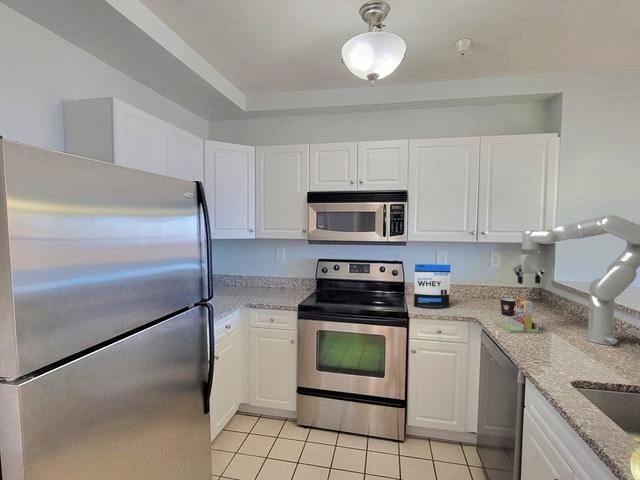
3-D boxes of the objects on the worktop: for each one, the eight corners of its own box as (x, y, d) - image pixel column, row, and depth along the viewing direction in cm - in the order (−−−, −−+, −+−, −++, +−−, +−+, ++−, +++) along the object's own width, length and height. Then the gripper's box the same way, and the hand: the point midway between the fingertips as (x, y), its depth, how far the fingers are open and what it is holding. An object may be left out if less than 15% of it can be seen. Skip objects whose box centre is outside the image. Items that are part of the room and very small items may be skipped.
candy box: (514, 324, 188) (515, 297, 187) (522, 324, 188) (523, 298, 187) (523, 329, 179) (525, 301, 178) (531, 329, 179) (533, 301, 178)
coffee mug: (496, 313, 216) (497, 298, 215) (505, 312, 219) (506, 297, 219) (513, 318, 205) (513, 302, 205) (522, 317, 209) (523, 301, 208)
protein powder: (412, 305, 236) (413, 263, 234) (446, 306, 235) (448, 263, 233) (415, 308, 226) (416, 265, 225) (451, 309, 225) (453, 265, 224)
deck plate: (541, 333, 177) (541, 330, 177) (509, 333, 177) (510, 330, 177) (523, 324, 193) (523, 321, 193) (494, 323, 193) (494, 321, 193)
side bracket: (537, 330, 177) (538, 324, 177) (522, 330, 177) (522, 324, 177) (523, 323, 190) (523, 317, 190) (508, 323, 190) (509, 317, 190)
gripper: (540, 252, 186) (539, 282, 187) (510, 252, 186) (509, 282, 187) (550, 253, 179) (549, 284, 180) (518, 253, 179) (517, 284, 179)
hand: (528, 283), depth 183 cm, fingers open, 9 cm apart
